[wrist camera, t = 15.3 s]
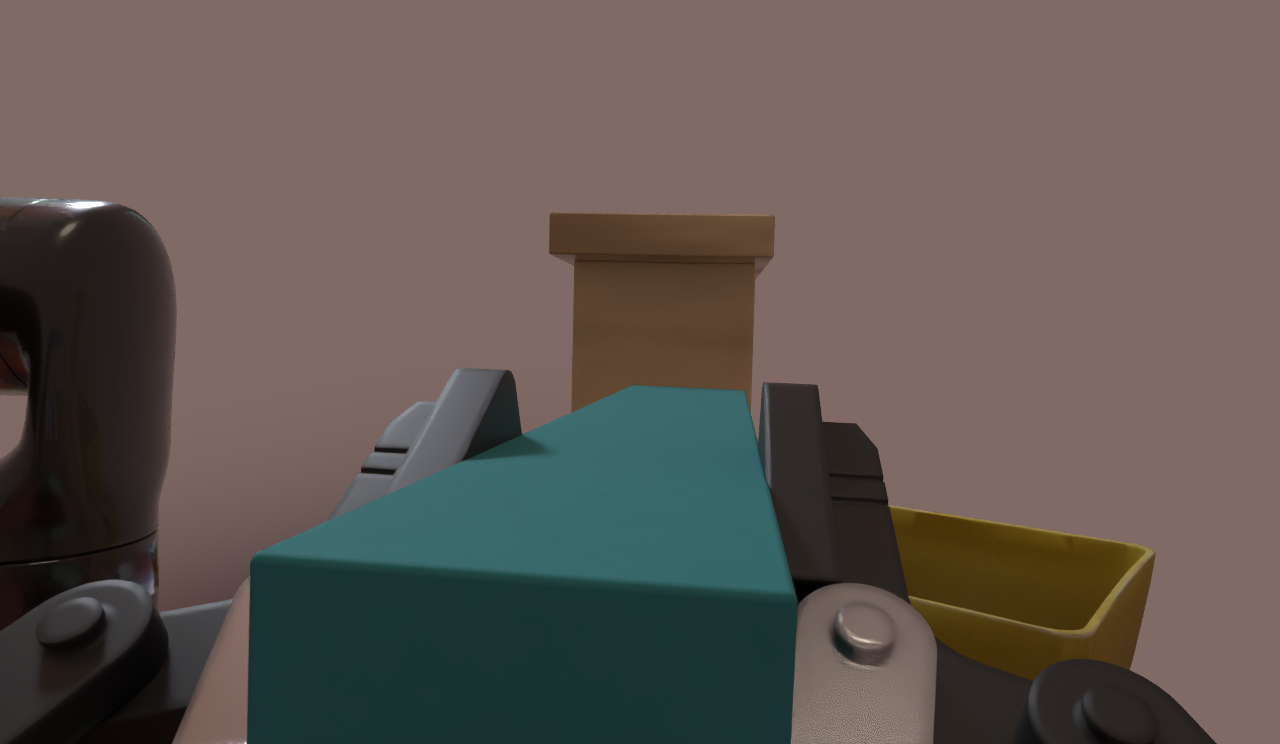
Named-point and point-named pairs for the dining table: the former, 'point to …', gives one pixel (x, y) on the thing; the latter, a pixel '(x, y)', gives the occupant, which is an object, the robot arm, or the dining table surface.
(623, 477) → the dark teal block
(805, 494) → the robot arm
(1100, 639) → the flower pot
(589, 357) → the stand
